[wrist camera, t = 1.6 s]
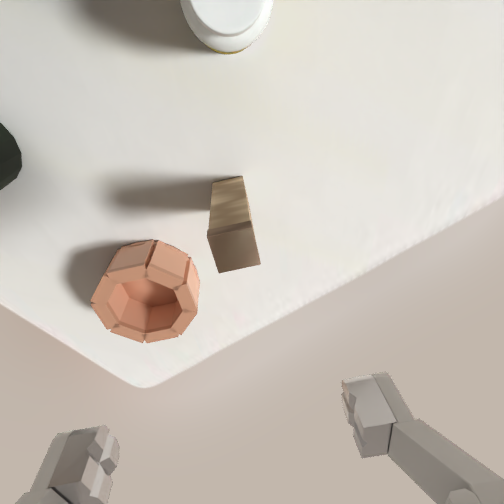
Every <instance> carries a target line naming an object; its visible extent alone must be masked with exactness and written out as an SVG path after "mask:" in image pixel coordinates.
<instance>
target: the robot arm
mask: <svg viewBox="0 0 504 504" xmlns="http://www.w3.org/2000/svg"><path fill="white" fill-rule="evenodd" d="M342 388H343V391H344V392H343V393H342V403H343V408H344V411H345V415H346V418H347V420H348V423H349V424H350V425H352V426H353V427H354V436H353V437H354V439H355V442H356V445H357V447H358V450H359V452H360V455H361V457H362V458H366V457H372V456H379V455H385V454H388V456H389V457H390V458H391V459H392V460H393V461H394V462H395V463H396V464H397V465H398V466H399V467H400V468H401V469H402V470H403V471H404V472H405V473H406V474H407V475H408V476H409V477H410V478H411V479H412V480H413V481H415V483H416V484H417V485H418V486H419V487H420V488H421V489H422V490H423V491H424V492H425V493H426V494H427V495H428V496H429V497H430V498H431V499H433V501H435V502H436V503H437V504H504V479H503V478H501V477H500V476H498V475H497V474H496V473H494V472H493V471H491V470H490V469H489V468H487V467H486V466H485V465H483V464H482V463H480V462H479V461H478V460H476V459H475V458H473V457H472V456H471V455H469V454H468V453H467V452H465V451H464V450H462V449H461V448H459V447H458V446H457V445H455V444H454V443H453V442H451V441H450V440H448V439H447V438H446V437H444V436H443V435H442V434H440V433H439V432H437V431H436V430H435V429H433V428H432V427H430V426H429V425H427V424H426V423H425V422H424V421H422V420H421V419H415V418H414V417H413V415H412V413H411V411H410V410H409V408H408V406H407V404H406V403H405V401H404V399H403V397H402V396H401V394H400V392H399V390H398V389H397V387H396V385H395V383H394V382H393V380H392V379H391V376H390V375H389V374H388V373H387V372H380V373H375V374H369V375H364V376H359V377H354V378H349V379H345V380H342ZM108 433H109V429H108V428H107V426H106V425H102V426H97V427H91V428H85V429H80V430H73V431H68V432H63V433H58V434H57V435H56V436H55V438H54V439H53V441H52V443H51V445H50V447H49V449H48V452H47V454H46V456H45V458H44V461H43V463H42V465H41V467H40V470H39V472H38V474H37V476H36V479H35V481H34V483H33V485H32V487H31V489H30V492H27V493H24V495H22V497H21V498H20V499H19V500H18V501H17V502H16V503H15V504H107V502H108V499H109V495H110V491H111V487H112V483H113V482H112V479H111V476H110V474H111V473H112V472H113V471H114V469H115V468H116V467H117V462H118V459H119V444H118V441H117V439H116V438H115V437H114V436H111V435H109V434H108Z"/></svg>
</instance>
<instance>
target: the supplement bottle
mask: <svg viewBox="0 0 504 504" xmlns="http://www.w3.org/2000/svg"><path fill="white" fill-rule="evenodd" d="M180 2H181V7H182V10H183V13H184V16H185V18H186V21H187V23H188V25H189V26H190V28H191V29H192V31H193V32H194V34H195V35H196V36H197V38H198V39H199V40H201V41H202V42H203V43H204V44H205V45H206V46H208V47H209V48H210V49H212V50H214V51H215V52H218V53H221V54H235V53H238V52H240V51H242V50H244V49H246V48H247V47H248V46H250V45H251V44H252V43H253V42H255V41H256V40H257V39H258V38H259V36H260V35H261V34H262V32H263V31H264V29H265V27H266V25H267V23H268V21H269V18H270V15H271V12H272V7H273V0H180Z"/></svg>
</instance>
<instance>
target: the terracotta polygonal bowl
mask: <svg viewBox="0 0 504 504" xmlns="http://www.w3.org/2000/svg"><path fill="white" fill-rule="evenodd" d="M199 287H200V280H199V277H198V273H197V270H196V267H195V265H194V264H193V261H192V259H191V258H189V257H188V254H186V253H184V252H182V251H180V250H179V249H177V248H175V247H173V246H171V245H169V244H165V243H163V242H161V241H159V240H158V242H156V241H154V240H149V241H142V242H136V243H133V244H130V245H126V246H122V247H121V249H120V250H119V249H118V250H117V252H116V254H115V256H114V257H113V259H112V260H111V262H110V264H109V266H108V268H107V270H106V272H105V273H104V275H103V277H102V279H101V281H100V283H99V285H98V287H97V289H96V290H95V292H94V294H93V296H92V298H91V300H90V301H91V302H92V303H91V306H92V308H93V309H94V311H95V312H96V314H97V315H98V317H99V318H100V320H101V321H102V323H103V324H104V326H105V327H106V329H111V331H110V332H112V333H115V334H118V335H121V336H124V337H127V338H129V339H132V340H135V341H138V342H141V343H143V342H144V340H145V341H146V343H151V342H155V341H160V340H165V339H170V338H175V337H178V335H179V334H180V335H182V333H183V332H184V331H185V329H186V328H187V327H188V325H189V324H190V322H191V321H192V320H193V318H194V317H195V316H196V314H197V310H198V307H197V306H198V297H199Z"/></svg>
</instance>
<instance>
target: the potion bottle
mask: <svg viewBox="0 0 504 504" xmlns="http://www.w3.org/2000/svg"><path fill="white" fill-rule="evenodd" d="M21 168H22V160H21V152H20V149H19V147H18V145H17V143H16V141H15V139H14V137H13V136H12V135H11V134H10V133H9V131H8V130H7V129H6V128H5V127H4V126H3V125H2V124H1V123H0V190H1V189H3V188H4V187H5V186H7V185H8V184H9V183H10V182H12V181H13V180H14V179H16V178H17V176H18V174H19V172H20V170H21Z"/></svg>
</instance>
